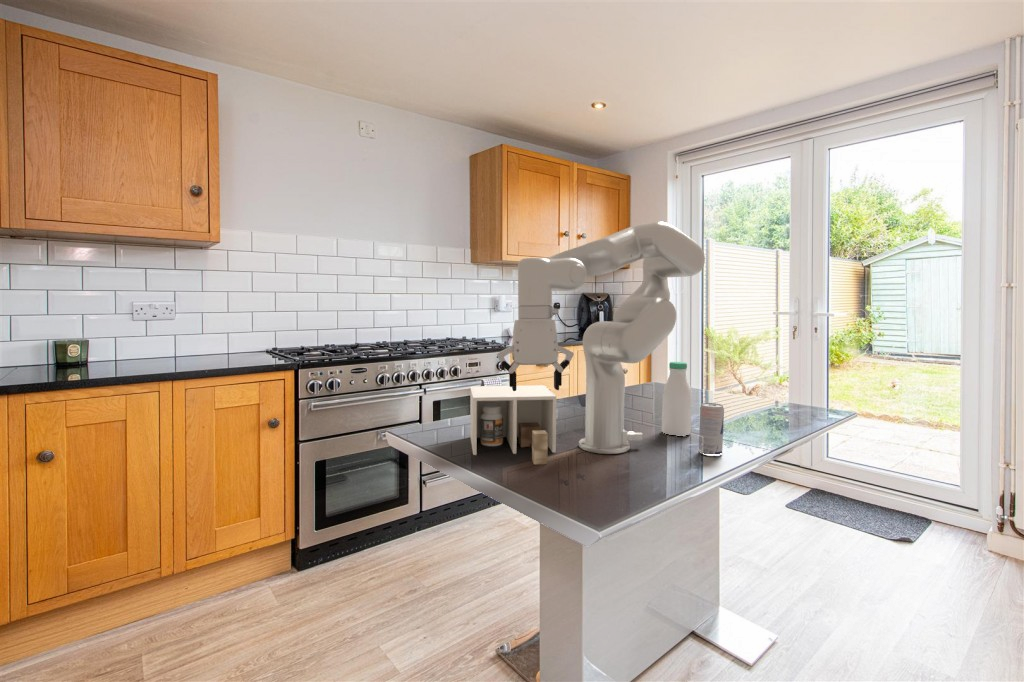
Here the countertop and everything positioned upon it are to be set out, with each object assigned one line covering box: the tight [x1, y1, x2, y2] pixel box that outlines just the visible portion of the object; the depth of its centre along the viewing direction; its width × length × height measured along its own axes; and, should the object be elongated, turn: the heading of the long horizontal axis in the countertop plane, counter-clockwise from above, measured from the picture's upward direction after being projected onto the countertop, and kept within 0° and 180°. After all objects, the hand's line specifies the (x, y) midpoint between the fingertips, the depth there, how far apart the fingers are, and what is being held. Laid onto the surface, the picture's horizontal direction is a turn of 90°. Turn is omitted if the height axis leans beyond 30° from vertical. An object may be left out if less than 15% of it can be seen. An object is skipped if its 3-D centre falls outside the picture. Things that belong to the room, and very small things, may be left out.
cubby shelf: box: [469, 384, 557, 456], centre depth 131 cm, size 20×16×14 cm
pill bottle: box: [480, 404, 504, 447], centre depth 132 cm, size 6×6×10 cm
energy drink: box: [698, 402, 725, 454], centre depth 124 cm, size 5×5×12 cm
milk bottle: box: [661, 361, 693, 436], centre depth 143 cm, size 8×8×20 cm
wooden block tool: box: [517, 422, 549, 465], centre depth 125 cm, size 5×19×7 cm, turn 7°
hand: (535, 389), depth 117 cm, fingers open, 9 cm apart
